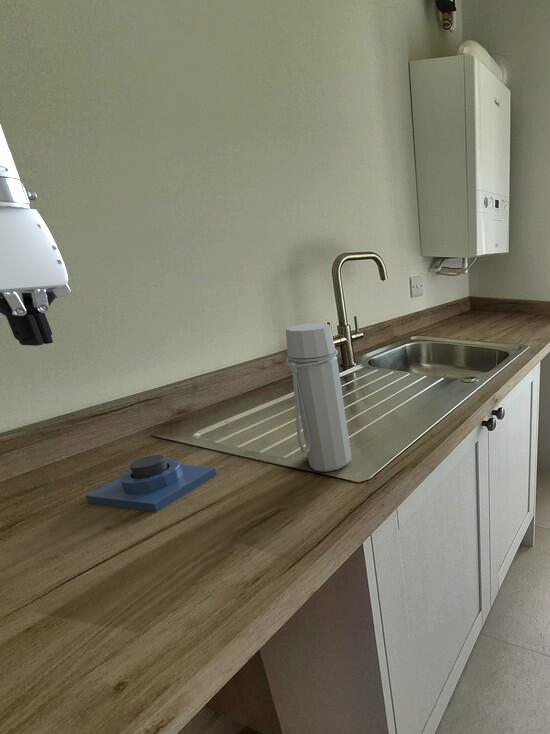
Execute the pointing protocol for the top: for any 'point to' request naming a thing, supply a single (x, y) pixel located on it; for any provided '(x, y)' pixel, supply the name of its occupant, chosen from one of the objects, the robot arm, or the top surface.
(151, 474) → the dark grey round knob
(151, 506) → the blue base plate
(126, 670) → the top surface
